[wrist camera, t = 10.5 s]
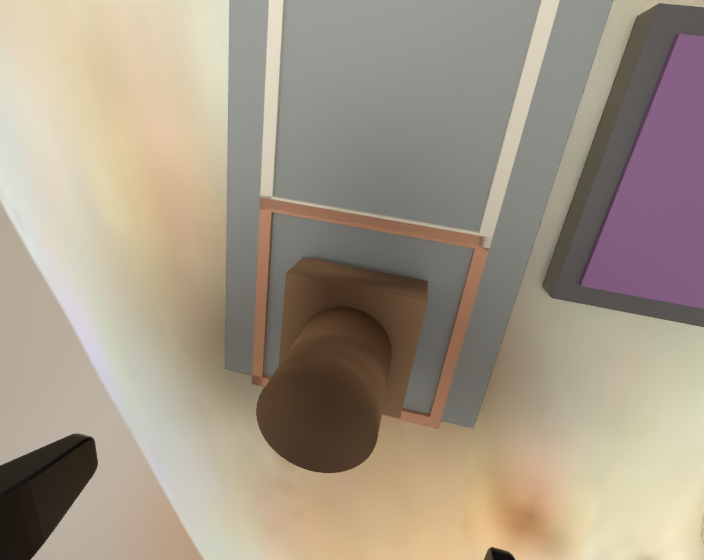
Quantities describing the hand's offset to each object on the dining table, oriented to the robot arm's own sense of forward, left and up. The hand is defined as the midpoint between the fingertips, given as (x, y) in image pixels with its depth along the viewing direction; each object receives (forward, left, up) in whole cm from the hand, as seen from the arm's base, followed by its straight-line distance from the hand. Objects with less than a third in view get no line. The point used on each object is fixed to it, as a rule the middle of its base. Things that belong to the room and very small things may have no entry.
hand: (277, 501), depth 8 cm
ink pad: (-11, -8, -9) cm, 16 cm away
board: (0, -5, -9) cm, 10 cm away
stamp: (0, 0, -9) cm, 9 cm away
